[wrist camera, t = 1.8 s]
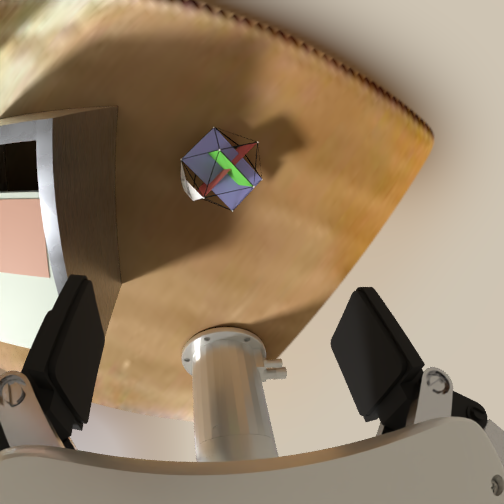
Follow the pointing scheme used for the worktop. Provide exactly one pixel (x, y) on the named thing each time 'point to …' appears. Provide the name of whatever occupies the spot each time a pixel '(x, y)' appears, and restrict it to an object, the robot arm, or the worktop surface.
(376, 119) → the worktop surface
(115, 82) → the worktop surface
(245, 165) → the geometric puzzle
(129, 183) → the worktop surface
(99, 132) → the bin
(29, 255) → the trapdoor
